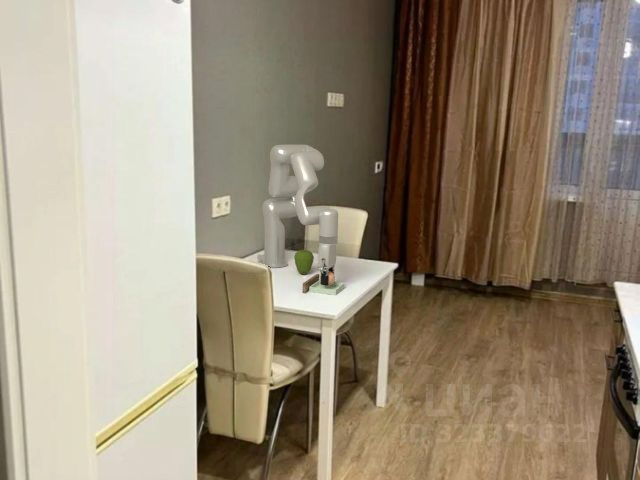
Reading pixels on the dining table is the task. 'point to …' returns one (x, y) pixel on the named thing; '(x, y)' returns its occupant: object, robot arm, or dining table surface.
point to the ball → (330, 277)
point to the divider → (310, 283)
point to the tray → (327, 288)
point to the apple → (303, 261)
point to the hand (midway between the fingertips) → (327, 282)
